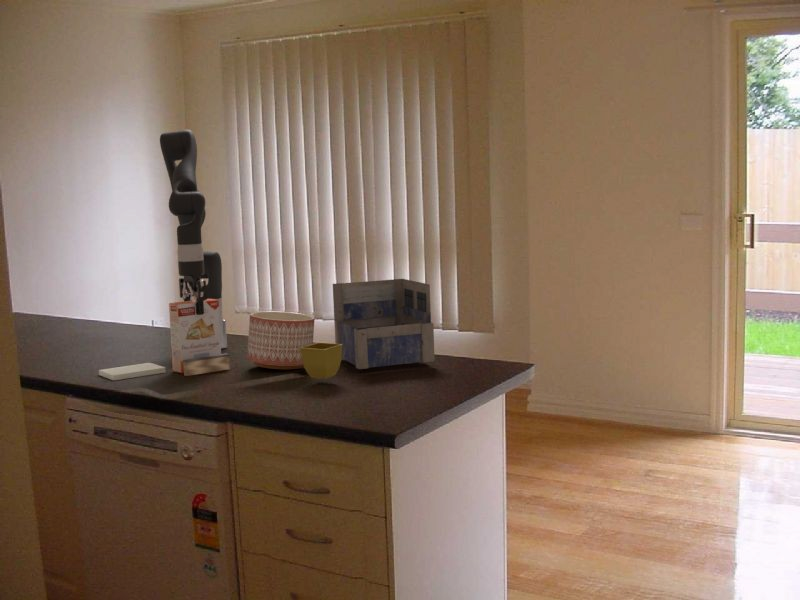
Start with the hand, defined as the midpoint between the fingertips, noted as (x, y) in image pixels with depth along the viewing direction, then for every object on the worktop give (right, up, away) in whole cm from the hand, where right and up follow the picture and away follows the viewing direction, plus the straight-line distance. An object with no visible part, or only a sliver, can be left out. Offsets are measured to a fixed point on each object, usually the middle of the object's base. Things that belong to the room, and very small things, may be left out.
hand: (194, 313), depth 283 cm
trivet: (-18, -18, -1) cm, 26 cm away
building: (+57, -14, +8) cm, 59 cm away
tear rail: (+5, -17, -3) cm, 18 cm away
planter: (+26, -16, 0) cm, 30 cm away
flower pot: (+40, -18, -17) cm, 47 cm away
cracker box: (+1, -17, +2) cm, 17 cm away
